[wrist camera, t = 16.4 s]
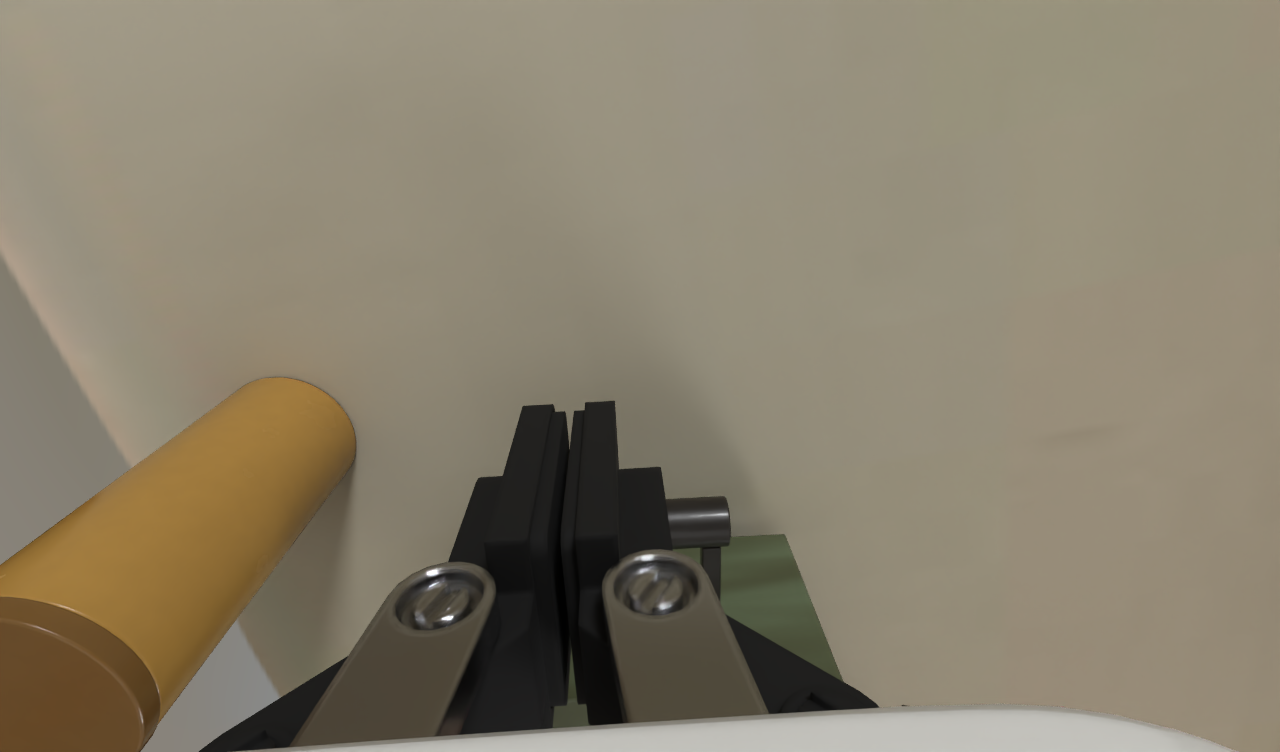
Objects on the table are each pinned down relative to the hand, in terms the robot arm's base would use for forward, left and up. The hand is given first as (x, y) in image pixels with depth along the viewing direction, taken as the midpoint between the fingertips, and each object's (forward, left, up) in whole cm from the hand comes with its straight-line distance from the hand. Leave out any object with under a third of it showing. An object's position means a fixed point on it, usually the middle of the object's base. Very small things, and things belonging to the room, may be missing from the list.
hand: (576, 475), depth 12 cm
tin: (+9, -9, -11) cm, 17 cm away
